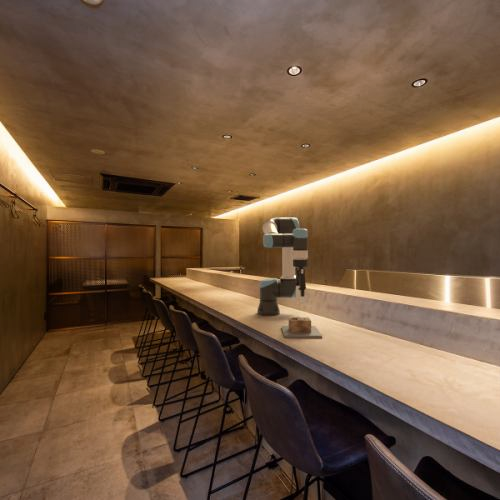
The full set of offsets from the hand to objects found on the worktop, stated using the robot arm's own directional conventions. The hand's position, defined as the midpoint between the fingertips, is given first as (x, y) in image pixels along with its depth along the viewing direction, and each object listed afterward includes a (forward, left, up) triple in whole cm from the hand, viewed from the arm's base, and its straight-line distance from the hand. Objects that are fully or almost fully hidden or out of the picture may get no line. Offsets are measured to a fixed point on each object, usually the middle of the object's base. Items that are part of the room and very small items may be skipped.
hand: (300, 300), depth 148 cm
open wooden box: (+1, 0, -15) cm, 15 cm away
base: (0, 0, -16) cm, 16 cm away
